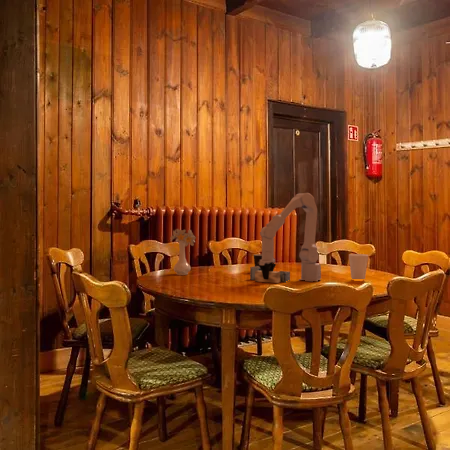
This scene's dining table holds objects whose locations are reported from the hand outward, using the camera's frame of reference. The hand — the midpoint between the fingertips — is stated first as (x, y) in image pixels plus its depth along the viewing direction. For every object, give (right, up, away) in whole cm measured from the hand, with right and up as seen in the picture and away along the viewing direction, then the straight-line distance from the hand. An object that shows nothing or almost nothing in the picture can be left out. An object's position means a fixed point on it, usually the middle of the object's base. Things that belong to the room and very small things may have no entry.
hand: (267, 278), depth 234 cm
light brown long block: (0, -2, 0) cm, 2 cm away
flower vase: (-44, -1, +27) cm, 52 cm away
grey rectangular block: (-5, -1, +10) cm, 11 cm away
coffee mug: (+1, -1, +36) cm, 36 cm away
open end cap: (+8, -2, +3) cm, 8 cm away
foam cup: (+46, -2, +7) cm, 47 cm away
